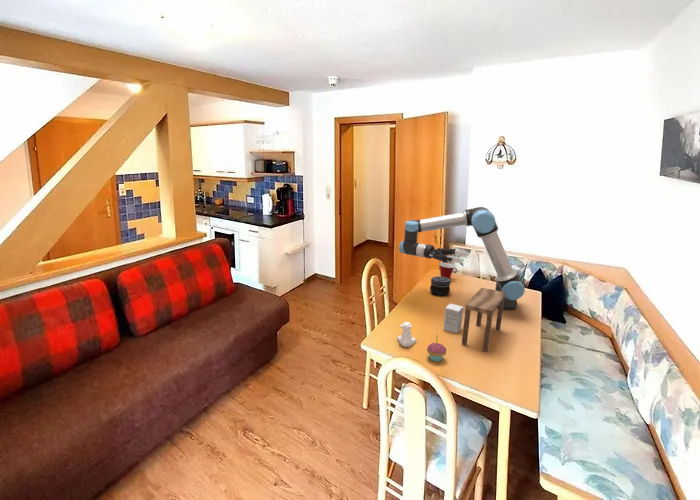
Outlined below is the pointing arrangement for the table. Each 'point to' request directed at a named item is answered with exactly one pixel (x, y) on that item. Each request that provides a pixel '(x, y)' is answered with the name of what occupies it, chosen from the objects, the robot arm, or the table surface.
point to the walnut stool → (486, 304)
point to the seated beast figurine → (406, 335)
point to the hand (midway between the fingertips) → (462, 257)
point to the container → (440, 286)
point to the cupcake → (436, 350)
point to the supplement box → (453, 318)
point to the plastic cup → (446, 269)
